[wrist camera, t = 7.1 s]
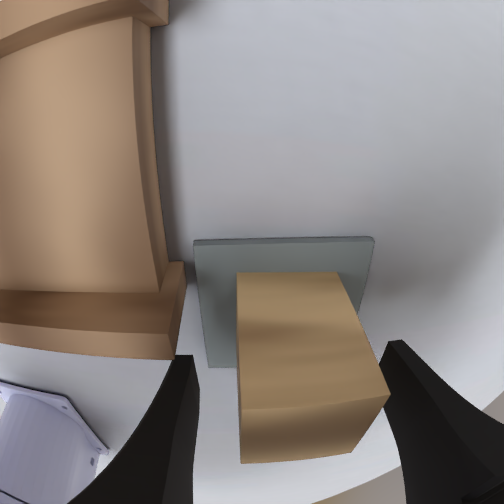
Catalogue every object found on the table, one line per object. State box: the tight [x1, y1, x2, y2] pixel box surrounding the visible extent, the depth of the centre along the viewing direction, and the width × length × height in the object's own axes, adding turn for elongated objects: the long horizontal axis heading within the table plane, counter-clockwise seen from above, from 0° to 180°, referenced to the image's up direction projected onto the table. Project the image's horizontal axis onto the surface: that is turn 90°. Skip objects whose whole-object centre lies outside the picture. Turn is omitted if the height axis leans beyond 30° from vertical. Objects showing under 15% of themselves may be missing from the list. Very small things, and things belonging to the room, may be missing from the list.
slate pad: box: [193, 237, 375, 368], centre depth 14 cm, size 7×7×1 cm
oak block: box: [236, 272, 391, 464], centre depth 11 cm, size 4×4×6 cm
